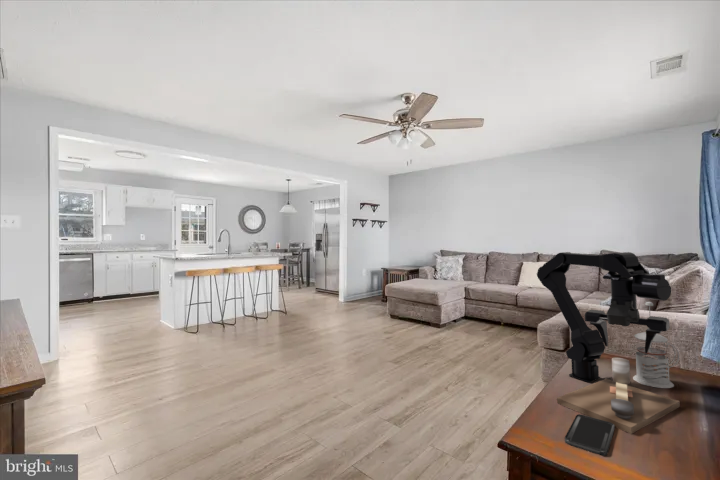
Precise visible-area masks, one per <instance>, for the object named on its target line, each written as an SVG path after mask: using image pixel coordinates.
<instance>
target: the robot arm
mask: <svg viewBox="0 0 720 480" xmlns="http://www.w3.org/2000/svg"><path fill="white" fill-rule="evenodd" d="M571 265H574V266H575V265H576V266H585V267H595V268H600V269H602V270H604V271H607V273H606V274H605V275H603V276H602V279H604V280H610V294H611V295H610V296H611V299H610V305H609V308H608V309H607V311H606V313H605V311H604V310H598V309H589V310H588V311H586V312H585V313H584V316H582V314H581V312H580V310H579V309H578V306H577V305H576V303H575V301H574V299H573V297H572V295H571V294H570V292H569V290H568V288H567V277H566V275H565V274H566V273H567V272H568V271H569V270H570V267H571ZM536 276H537V279H538V280H539V281H540V283H541V284H542V286H543V287H545V288H546V289H547V290H548V291H550V292H551V295H552V297H553V298H554V300H555V302H556V304H557V305H558V308H559V310H560V312H561V314H562V316H563V318H564V319H565V321H566V324H567V325H568V327H569V329H570V331H571V332H570V342H571V344H572V346H571V347H569V348H568V349H567V350H566V351H565V353H566V356H567V358H568V359H570V360H571V373H569V374H568V376H569V377H570V378H573V379H576V380H581V381H583V382H586V383H593V382H594V381H598V380H600V379H601V376H600V373H599V372H600V371H599V369H600V368H599V365H598V362H597V360H599V359H601V356H602V355H603V353H604V352H605V349H606V347H608V346H609V335H608V325H613V326H615V325H616V326H617V325H618V326H622V327H629V326H630V325H631V324H632V325H633V324H634V325H640V326H646V327H647V329H646V330H645V332H646V341H644V342H645V343H644V344H645V345H644V347H645V353H648V351H649V348H651V343H653V342H652V341H653V339H654V337H655V335H656V334H659V335H661V333H662V332H668V330H669V329H670V319H669V318H667V317H662V316H653V315H650V316H648V318H643V317H640V311H639V309H638V306H637V305H638V304H637V298H640V299H649V300H656V301H663V302H664V301H667V300H668V299H670V297H671V295H672V286H671V285H670V282H669V281H668V280H667V279H666V275H665V274H661V273H659V274H650V273H649V272H648V270H647V269H646V268H645V267H644V266H643V265H642V263H641V262H640V261H639V258H638V256H637V255H635V253H634V252H629V251H626V252H624V251H623V252H611V253H604V254H598V253H597V254H592V253H581V252H580V253H576V252H575V253H574V252H570V251H567V252H566V251H565V252H558V253H556V254H555V256H554V257H552V258H551V259H549V260H548V261H546V262H545V263H544V264H543V265H541V266H540V267H539V268H538V269H537V273H536ZM583 317H584V318H583ZM586 322H589V324H590V325H591V326H592V325H593V326H594V327H595V328H596V329H592V328H591V327H589V326H588V324H587V323H586ZM607 324H608V325H607Z"/></svg>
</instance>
